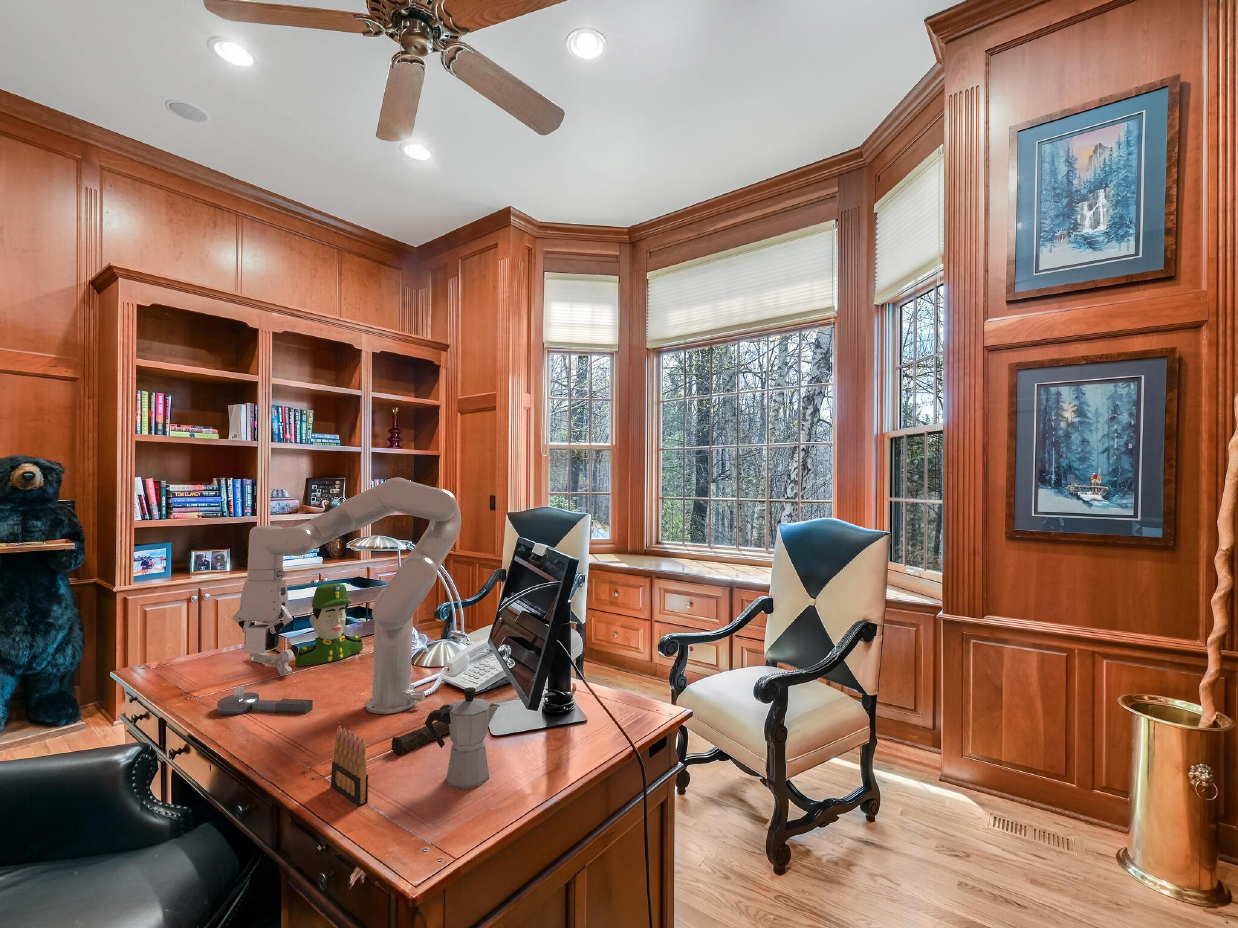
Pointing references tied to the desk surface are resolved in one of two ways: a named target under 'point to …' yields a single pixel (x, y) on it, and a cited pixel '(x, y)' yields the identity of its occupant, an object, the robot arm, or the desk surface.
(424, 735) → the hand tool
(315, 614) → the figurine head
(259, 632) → the socket
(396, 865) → the desk surface
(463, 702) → the coffee maker
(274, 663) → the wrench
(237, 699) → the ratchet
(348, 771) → the ammunition clip
